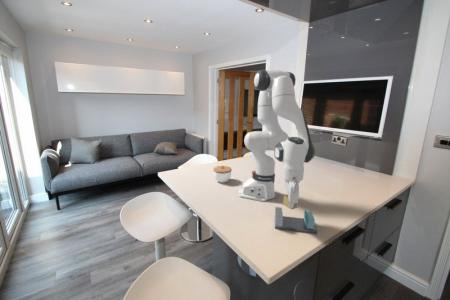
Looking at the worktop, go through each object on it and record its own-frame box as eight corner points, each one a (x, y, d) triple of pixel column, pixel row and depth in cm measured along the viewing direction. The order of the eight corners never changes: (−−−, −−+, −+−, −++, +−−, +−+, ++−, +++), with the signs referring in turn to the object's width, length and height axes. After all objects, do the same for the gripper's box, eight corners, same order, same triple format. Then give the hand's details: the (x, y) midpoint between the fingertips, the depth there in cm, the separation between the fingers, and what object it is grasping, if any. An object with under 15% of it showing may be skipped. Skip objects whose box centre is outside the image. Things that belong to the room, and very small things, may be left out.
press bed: (275, 228, 99) (276, 216, 98) (274, 217, 108) (275, 207, 106) (316, 233, 96) (318, 221, 95) (312, 222, 105) (314, 211, 103)
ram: (306, 228, 97) (307, 219, 96) (303, 218, 105) (304, 209, 104) (313, 229, 96) (314, 220, 95) (310, 218, 104) (311, 210, 103)
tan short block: (283, 205, 101) (283, 196, 100) (289, 203, 103) (289, 194, 102) (292, 209, 96) (292, 200, 95) (298, 207, 98) (299, 198, 97)
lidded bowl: (229, 185, 147) (229, 169, 144) (211, 183, 149) (211, 168, 146) (232, 178, 158) (233, 163, 156) (215, 176, 161) (215, 162, 158)
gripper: (304, 183, 86) (300, 215, 89) (297, 167, 105) (294, 194, 108) (287, 182, 87) (284, 213, 90) (283, 166, 106) (281, 193, 110)
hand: (290, 202), depth 99 cm, fingers closed on tan short block, 6 cm apart
